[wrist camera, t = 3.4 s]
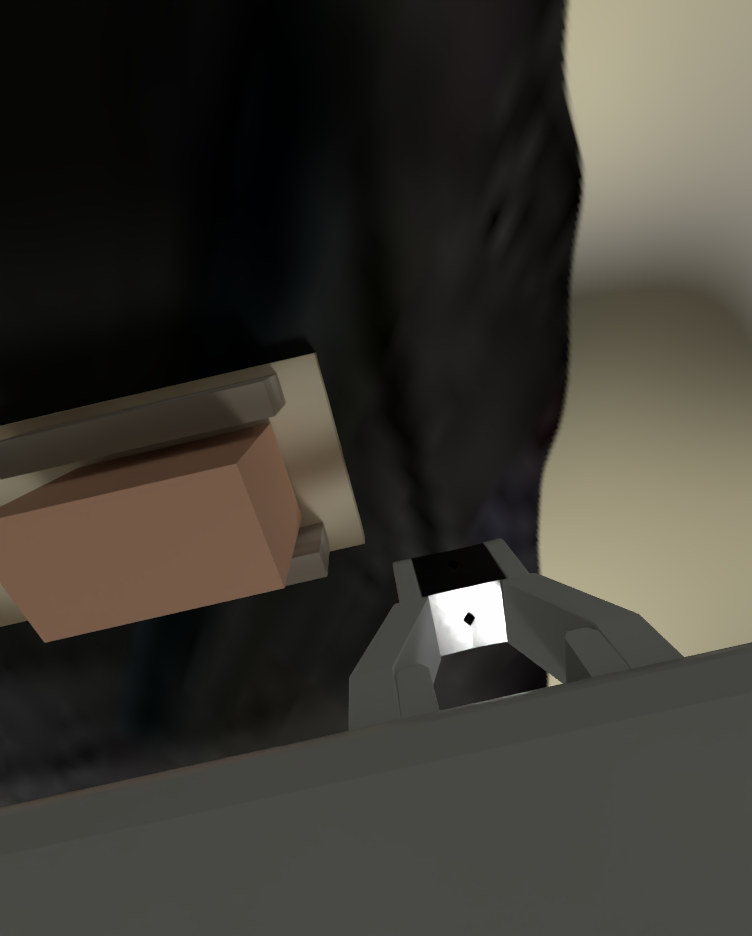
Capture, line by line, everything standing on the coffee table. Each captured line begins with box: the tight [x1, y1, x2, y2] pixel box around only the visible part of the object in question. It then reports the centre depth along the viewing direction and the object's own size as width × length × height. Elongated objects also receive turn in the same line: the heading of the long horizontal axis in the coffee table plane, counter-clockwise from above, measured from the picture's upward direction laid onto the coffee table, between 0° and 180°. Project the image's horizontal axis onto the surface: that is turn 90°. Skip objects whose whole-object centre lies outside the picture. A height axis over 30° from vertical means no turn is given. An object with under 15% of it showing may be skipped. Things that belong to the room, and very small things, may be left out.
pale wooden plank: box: [0, 352, 365, 627], centre depth 18 cm, size 11×32×4 cm, turn 102°
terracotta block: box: [0, 423, 302, 642], centre depth 16 cm, size 6×10×6 cm, turn 102°
